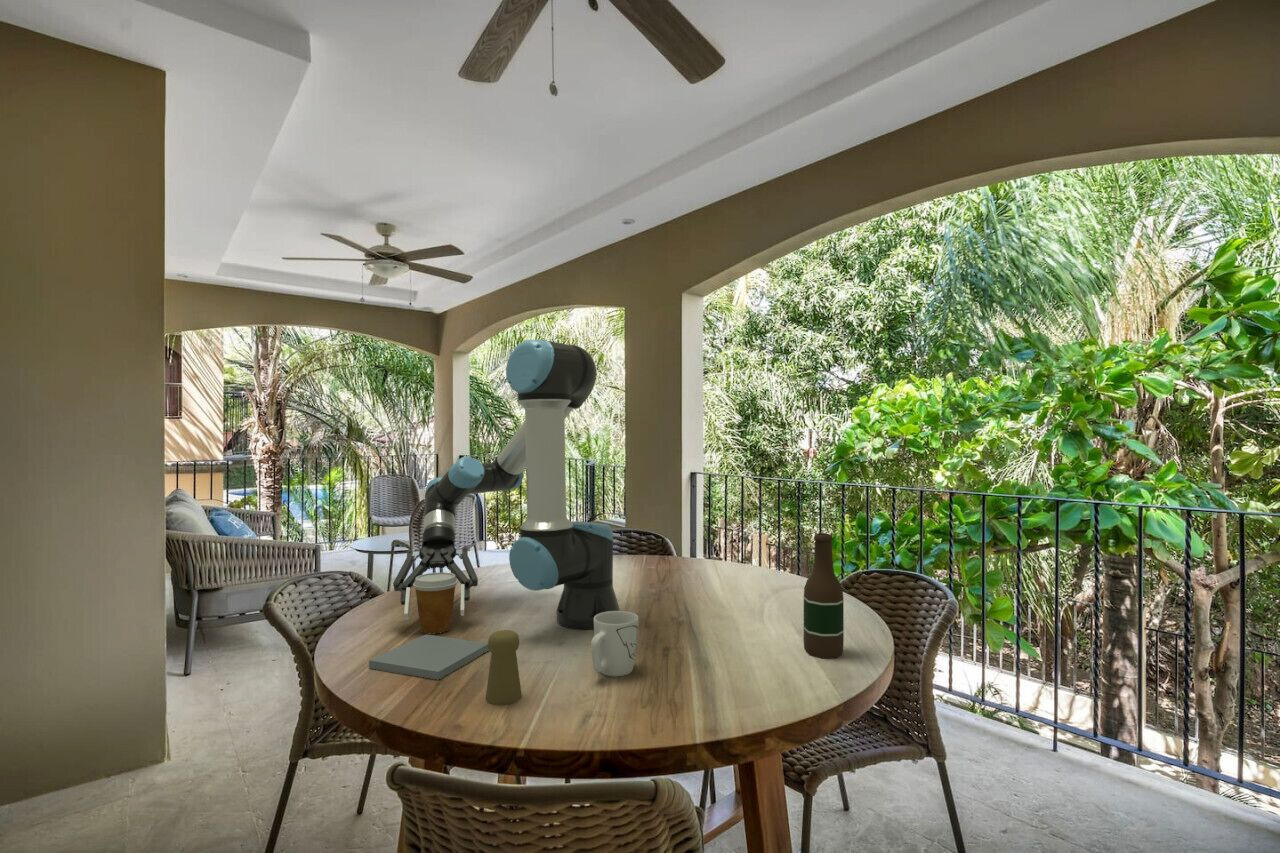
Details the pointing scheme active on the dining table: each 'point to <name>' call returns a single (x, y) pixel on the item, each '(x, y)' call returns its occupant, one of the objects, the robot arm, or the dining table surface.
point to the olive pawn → (503, 669)
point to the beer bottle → (823, 604)
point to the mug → (614, 642)
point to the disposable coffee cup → (435, 601)
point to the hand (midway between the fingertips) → (434, 614)
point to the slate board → (429, 656)
